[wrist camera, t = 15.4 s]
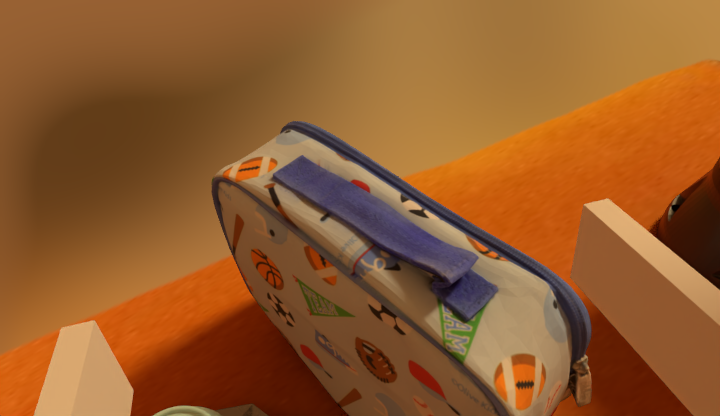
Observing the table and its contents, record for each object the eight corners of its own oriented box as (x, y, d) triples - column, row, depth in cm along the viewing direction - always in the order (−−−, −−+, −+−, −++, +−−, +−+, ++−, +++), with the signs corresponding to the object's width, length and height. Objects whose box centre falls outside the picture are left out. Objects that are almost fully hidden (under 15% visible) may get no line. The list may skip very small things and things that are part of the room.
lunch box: (564, 441, 40) (676, 269, 24) (489, 558, 35) (567, 437, 19) (320, 257, 54) (290, 70, 38) (241, 322, 49) (168, 139, 33)
